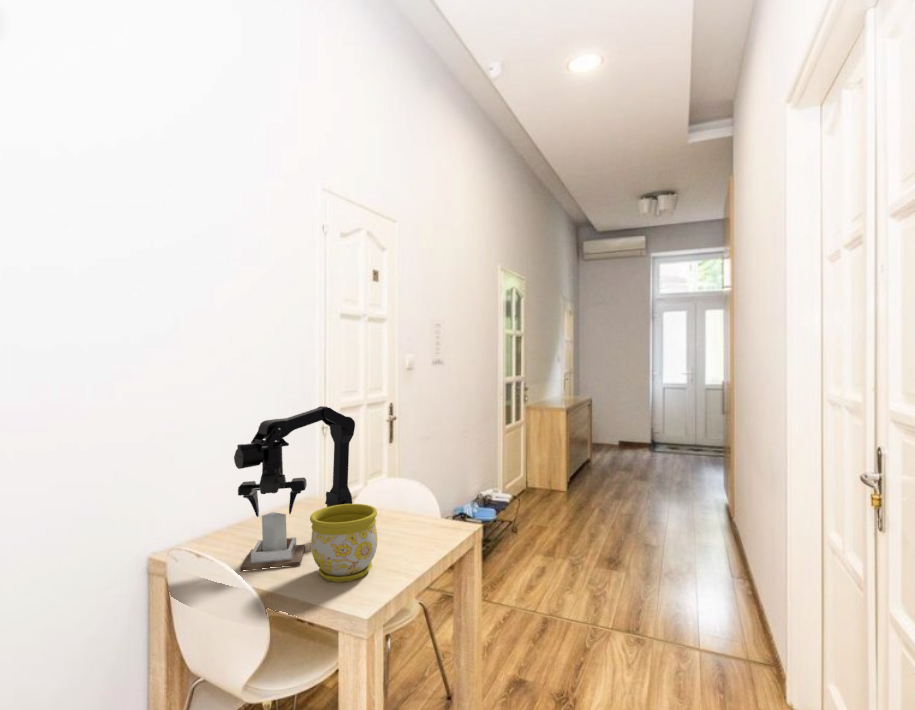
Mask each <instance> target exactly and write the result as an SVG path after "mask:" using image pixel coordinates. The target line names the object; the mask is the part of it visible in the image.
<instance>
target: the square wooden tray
mask: <svg viewBox="0 0 915 710" xmlns="http://www.w3.org/2000/svg"><path fill="white" fill-rule="evenodd" d="M253 549H254V548H252V549H251V550H250V551H249V552H248V554H247V556H246V558H245V559H244V561H243V563H242V564H241V566H240V572H241V571H243V570H253V569H262V568H270V567H282V566H293V567H299V566H298V565H300V566H301V565H302V562H303V558H302V557H304V555H303V554H304V553H305V552H306V551H305V550H306V543H305V544H296V549H295V552H294V555H293V558H292V560H291V561H281V562H271V563H261V564H251V553H252V551H253ZM262 552H263V551H262Z"/></svg>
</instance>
